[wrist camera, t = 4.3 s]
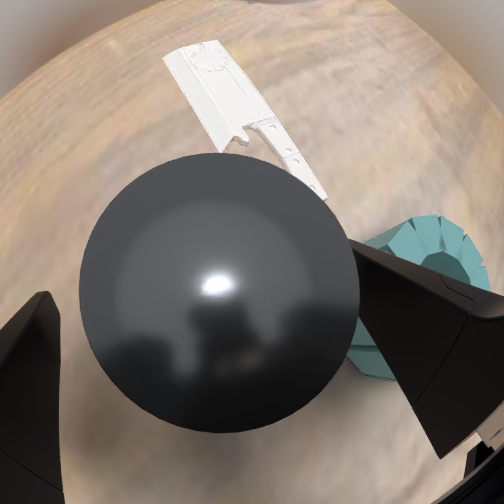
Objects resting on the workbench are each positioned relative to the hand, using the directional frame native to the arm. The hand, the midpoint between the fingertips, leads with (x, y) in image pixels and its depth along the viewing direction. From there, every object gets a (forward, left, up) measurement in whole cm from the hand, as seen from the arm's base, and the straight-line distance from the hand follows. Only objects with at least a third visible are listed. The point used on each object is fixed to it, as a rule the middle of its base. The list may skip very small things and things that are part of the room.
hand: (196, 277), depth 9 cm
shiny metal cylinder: (-1, 0, -7) cm, 7 cm away
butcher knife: (+7, -9, -8) cm, 14 cm away
